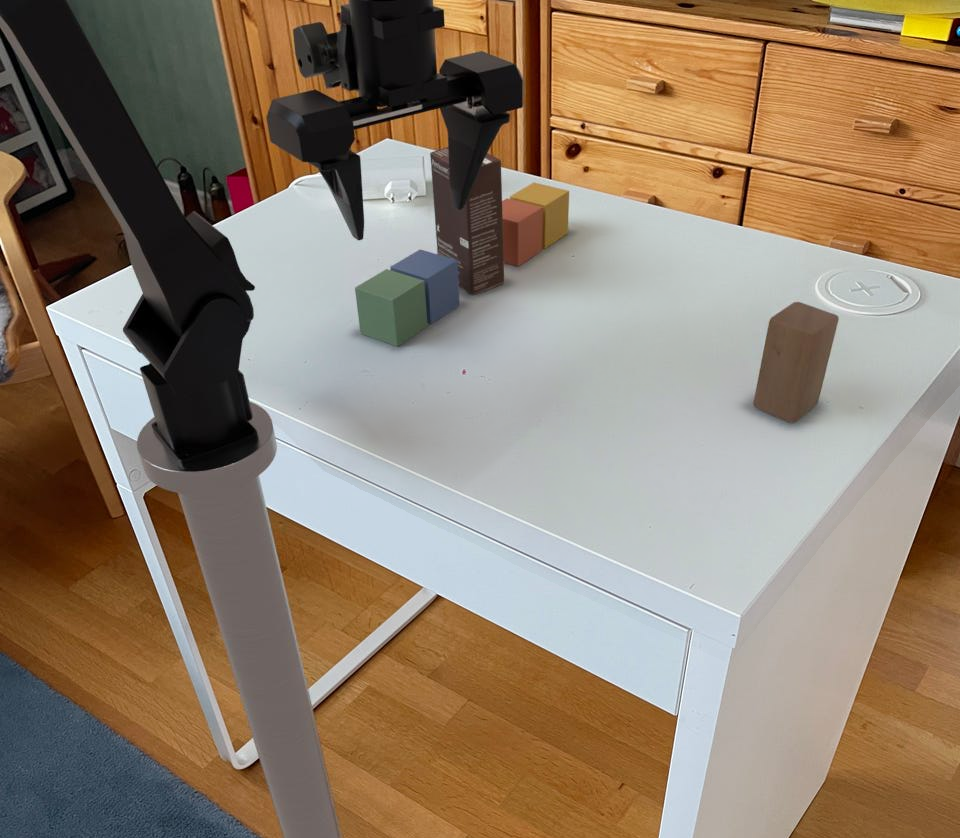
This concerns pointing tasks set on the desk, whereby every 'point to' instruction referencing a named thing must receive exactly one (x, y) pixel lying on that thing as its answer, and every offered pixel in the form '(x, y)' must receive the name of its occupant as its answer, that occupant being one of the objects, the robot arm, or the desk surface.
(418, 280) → the block line
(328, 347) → the desk surface
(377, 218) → the desk surface
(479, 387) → the desk surface
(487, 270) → the box
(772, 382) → the wooden block
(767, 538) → the desk surface
